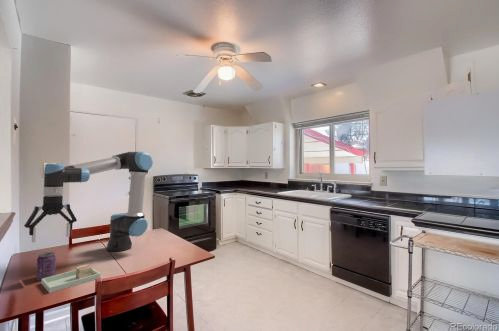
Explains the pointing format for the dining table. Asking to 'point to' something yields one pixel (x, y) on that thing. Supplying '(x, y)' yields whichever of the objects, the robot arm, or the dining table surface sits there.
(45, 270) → the beverage can
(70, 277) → the pale green tray
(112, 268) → the dining table surface
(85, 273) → the oak block
